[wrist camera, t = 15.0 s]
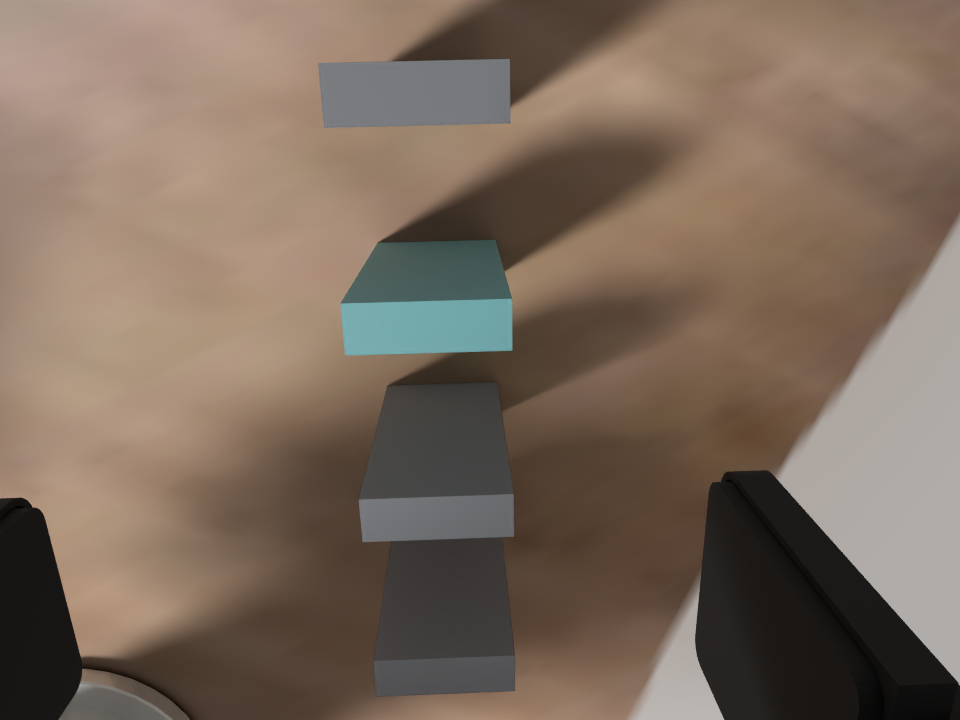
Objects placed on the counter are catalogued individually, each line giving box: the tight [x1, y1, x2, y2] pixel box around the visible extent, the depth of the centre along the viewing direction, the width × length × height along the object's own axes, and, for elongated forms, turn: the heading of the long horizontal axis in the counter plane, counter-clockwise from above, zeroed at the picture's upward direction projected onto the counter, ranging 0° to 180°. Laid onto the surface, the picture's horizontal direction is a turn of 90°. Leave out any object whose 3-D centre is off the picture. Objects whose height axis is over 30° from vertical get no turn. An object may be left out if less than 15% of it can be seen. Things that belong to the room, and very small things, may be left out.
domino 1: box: [318, 59, 510, 128], centre depth 23 cm, size 2×5×10 cm, turn 92°
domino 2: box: [341, 240, 512, 355], centre depth 26 cm, size 2×5×10 cm, turn 92°
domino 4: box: [373, 537, 515, 697], centre depth 30 cm, size 2×5×10 cm, turn 92°
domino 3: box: [359, 382, 514, 542], centre depth 28 cm, size 2×5×10 cm, turn 91°
